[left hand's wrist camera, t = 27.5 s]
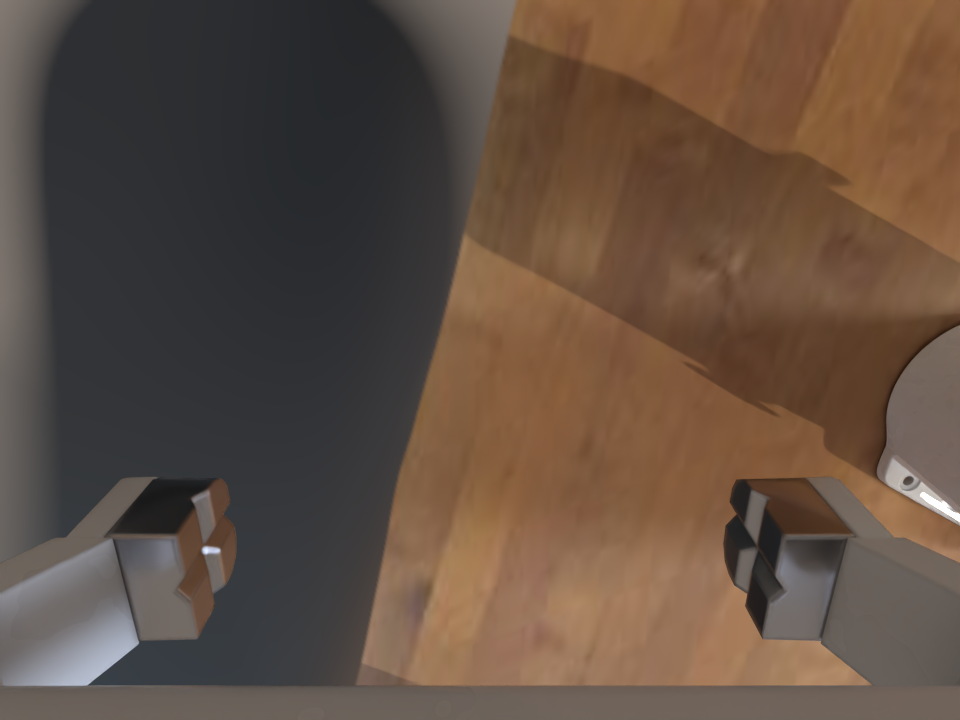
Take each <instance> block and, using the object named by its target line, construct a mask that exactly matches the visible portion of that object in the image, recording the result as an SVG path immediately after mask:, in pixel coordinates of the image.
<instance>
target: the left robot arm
mask: <svg viewBox="0 0 960 720" xmlns="http://www.w3.org/2000/svg"><path fill="white" fill-rule="evenodd" d="M886 430H887V442H886V447H885V449H884V451H883V453H882V456H881V458H880V461H879V464H878V467H877V476H878V478H879V479H880V480H881V481H882V482H883V483H885V484H886V485H888V486H889V487H891V488H893V489H894V490H896V491H898V492H900V493H901V494H903V495H905V496H907V497H909V498H910V499H912V500H914V501H916V502H918V503H919V504H921V505H923V506H925V507H927V508H928V509H930V510H932V511H934V512H935V513H937V514H939V515H941V516H943V517H944V518H946V519H948V520H950V521H952V522H953V523H955V524H957V525H959V526H960V325H958V326H956V327H954V328H952V329H951V330H949V331H947V332H945V333H944V334H942V335H940V336H939V337H937V338H936V339H935V340H933V341H932V342H931V343H929V344H928V345H927V346H926V347H925V348H924V349H922V350H921V351H920V352H919V353H918V354H917V355H916V356H915V357H914V358H913V360H912V361H911V362H910V363H909V364H908V366H907V367H906V368H905V370H904V371H903V372H902V374H901V376H900V377H899V379H898V381H897V383H896V384H895V387H894V389H893V391H892V394H891V396H890V399H889V403H888V408H887V415H886ZM906 477H907V479H905V480H904V478H906ZM229 503H230V498H229V494H228V489H227V484H226V483H225V482H224V481H223V480H222V479H221V478H172V477H171V478H170V477H160V478H157V477H129V478H124V479H121V480H120V481H119V482H118V483H117V484H116V485H115V486H114V487H113V488H112V489H111V490H110V491H109V493H108V494H107V495H106V496H105V497H104V498H103V499H102V500H101V501H100V502H99V503H98V504H97V505H96V506H95V507H94V508H93V509H92V510H91V511H90V513H89V514H88V515H87V516H86V517H85V518H84V519H83V520H82V521H81V522H80V523H79V524H78V525H77V526H76V527H75V528H74V529H73V530H72V531H71V533H70V534H69V535H68V536H67V537H66V538H53V539H51V540H49V541H47V542H45V543H43V544H40V545H38V546H36V547H34V548H32V549H30V550H28V551H25V552H23V553H21V554H19V555H17V556H15V557H12V558H10V559H8V560H6V561H4V562H1V563H0V720H960V563H958V562H956V561H954V560H952V559H950V558H948V557H946V556H943V555H941V554H939V553H937V552H935V551H933V550H930V549H928V548H926V547H924V546H922V545H920V544H917V543H915V542H913V541H911V540H909V539H907V538H894V537H893V536H892V535H891V534H890V532H889V531H888V530H887V529H886V528H885V527H884V526H883V525H882V524H881V523H880V522H879V521H878V520H877V519H876V518H875V517H874V516H873V515H872V513H871V512H870V511H869V510H868V509H867V508H866V507H865V506H864V505H863V504H862V503H861V502H860V501H859V500H858V499H857V498H856V497H855V496H854V494H853V493H852V492H851V491H850V490H849V489H848V488H847V487H846V486H845V485H844V484H843V483H842V482H841V481H840V480H839V479H836V478H834V477H807V478H777V479H739V480H736V482H735V484H734V486H733V488H732V492H731V498H730V503H731V505H732V507H733V508H734V510H735V512H736V513H737V515H736V516H735V517H734V518H733V519H732V520H731V521H730V522H729V523H728V524H727V525H726V527H725V535H724V542H723V545H724V557H725V563H726V567H727V570H728V573H729V575H730V577H731V579H732V582H733V584H734V585H735V586H736V587H738V588H739V589H741V590H742V591H744V592H745V593H747V599H746V604H745V607H746V609H747V610H748V612H749V614H750V616H751V618H752V620H753V622H754V624H755V626H756V627H757V629H758V631H759V633H760V635H761V637H762V639H775V640H811V641H821V644H822V645H824V646H825V647H826V648H827V649H828V650H830V651H831V652H832V653H833V654H835V655H836V656H837V657H838V658H840V659H841V660H842V661H843V662H845V663H846V664H847V665H848V666H850V667H851V668H852V669H853V670H855V671H856V672H857V673H858V674H860V675H861V676H862V677H863V678H865V679H866V680H867V681H868V682H870V683H871V684H872V685H873V686H87V685H88V684H89V683H91V682H92V681H93V680H94V679H95V678H97V677H98V676H99V675H100V674H102V673H103V672H104V671H106V670H107V669H108V668H109V667H111V666H112V665H113V664H114V663H116V662H117V661H118V660H119V659H121V658H122V657H123V656H124V655H125V654H127V653H128V652H129V651H131V650H132V649H133V648H134V647H136V646H137V645H138V644H139V641H148V640H183V639H198V637H199V635H200V633H201V631H202V629H203V627H204V625H205V624H206V622H207V620H208V618H209V616H210V614H211V612H212V610H213V608H214V607H215V604H214V599H213V593H215V592H216V591H218V590H219V589H221V588H222V587H224V586H225V585H226V583H227V581H228V579H229V577H230V575H231V573H232V571H233V566H234V562H235V557H236V533H235V527H234V525H233V524H232V523H231V522H230V521H229V520H228V519H227V518H226V517H225V516H224V515H223V513H224V512H225V510H226V508H227V507H228V505H229Z"/></svg>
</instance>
